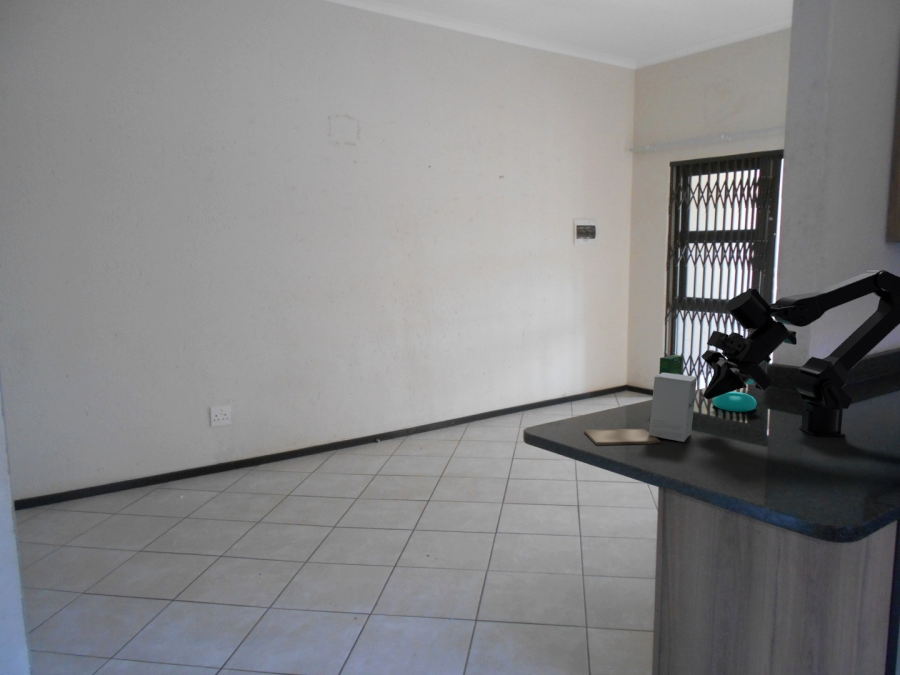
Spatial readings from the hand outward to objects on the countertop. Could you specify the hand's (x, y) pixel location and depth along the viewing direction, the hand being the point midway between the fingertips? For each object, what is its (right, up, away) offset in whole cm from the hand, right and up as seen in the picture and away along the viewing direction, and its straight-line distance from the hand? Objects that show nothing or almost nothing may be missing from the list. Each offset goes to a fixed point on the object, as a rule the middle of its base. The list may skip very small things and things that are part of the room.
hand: (705, 397), depth 127 cm
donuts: (+18, -5, +25) cm, 31 cm away
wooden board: (-18, -8, 0) cm, 19 cm away
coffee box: (+2, -5, +25) cm, 26 cm away
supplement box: (-7, -8, +1) cm, 11 cm away
